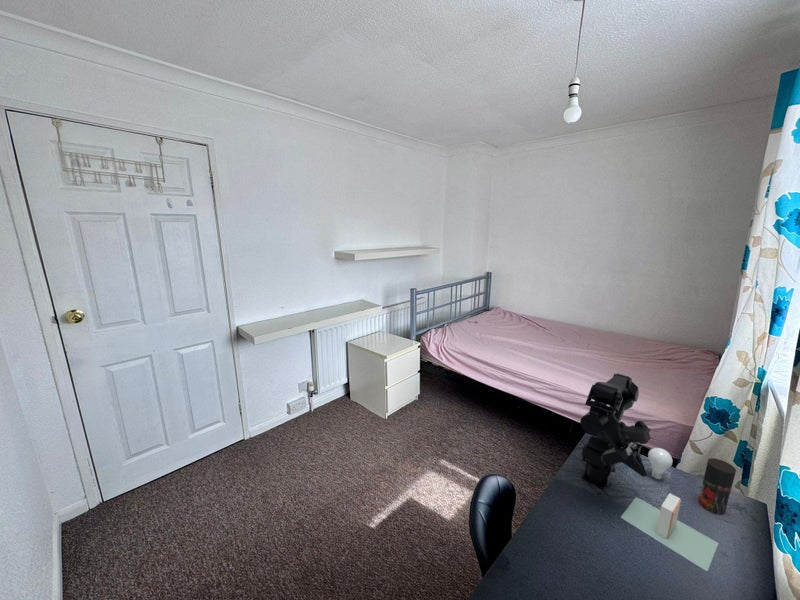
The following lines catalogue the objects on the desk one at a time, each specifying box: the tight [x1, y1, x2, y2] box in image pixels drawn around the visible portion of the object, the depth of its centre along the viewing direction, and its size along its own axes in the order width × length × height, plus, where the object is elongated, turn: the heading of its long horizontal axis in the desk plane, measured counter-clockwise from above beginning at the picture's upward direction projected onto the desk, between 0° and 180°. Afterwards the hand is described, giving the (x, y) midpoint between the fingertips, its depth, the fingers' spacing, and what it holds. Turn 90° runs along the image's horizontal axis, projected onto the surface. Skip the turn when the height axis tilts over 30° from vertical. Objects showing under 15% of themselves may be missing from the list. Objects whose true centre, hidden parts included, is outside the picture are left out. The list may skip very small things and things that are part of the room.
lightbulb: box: [647, 447, 673, 480], centre depth 109 cm, size 6×6×11 cm
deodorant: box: [697, 457, 737, 516], centre depth 96 cm, size 6×6×15 cm
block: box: [656, 492, 682, 539], centre depth 90 cm, size 3×7×9 cm, turn 127°
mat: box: [620, 496, 719, 572], centre depth 91 cm, size 19×12×1 cm, turn 37°
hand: (644, 475), depth 93 cm, fingers closed
